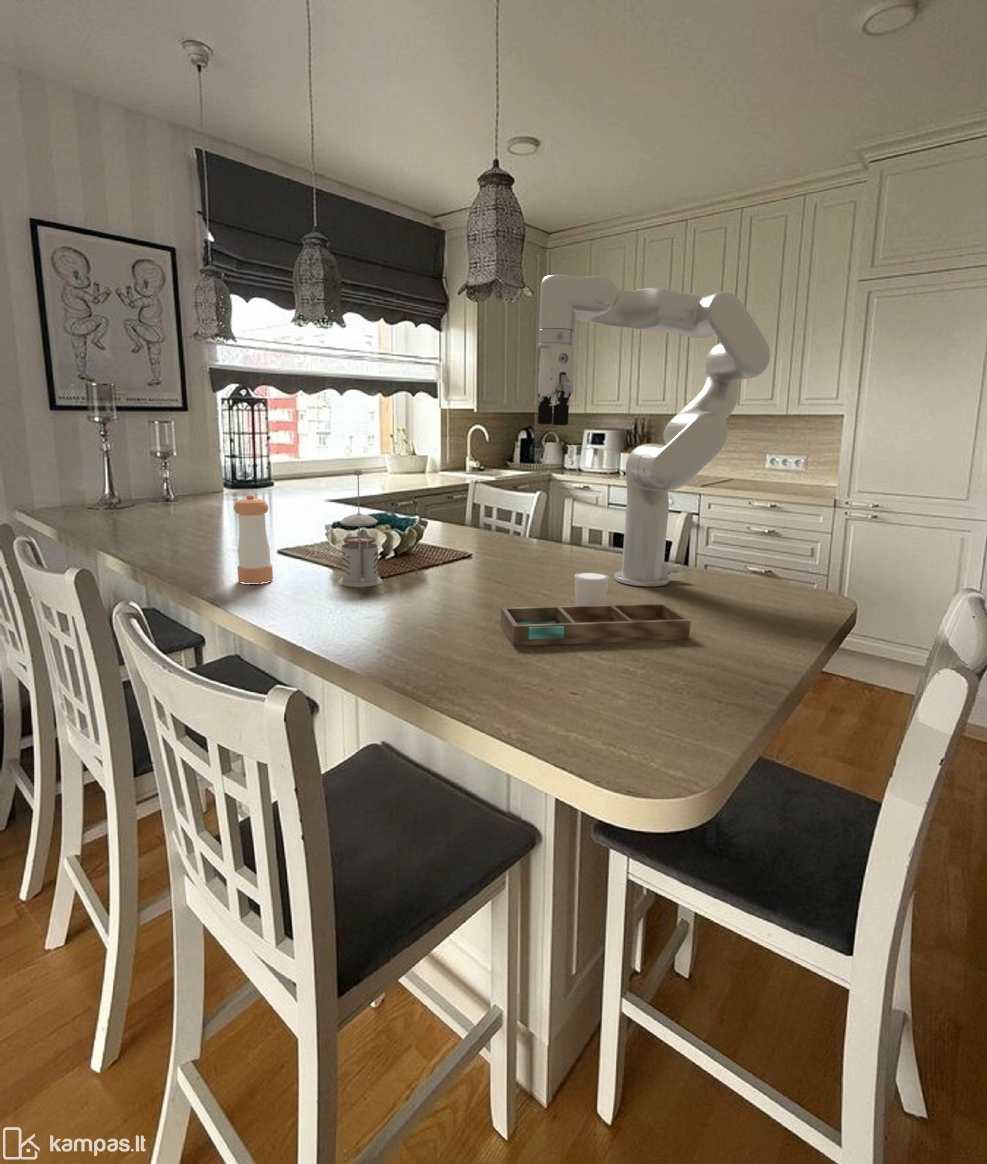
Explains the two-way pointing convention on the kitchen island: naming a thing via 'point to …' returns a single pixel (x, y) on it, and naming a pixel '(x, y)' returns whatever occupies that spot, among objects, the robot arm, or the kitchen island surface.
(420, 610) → the kitchen island surface
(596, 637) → the rack
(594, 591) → the white cup
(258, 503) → the pepper shaker
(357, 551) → the french press
